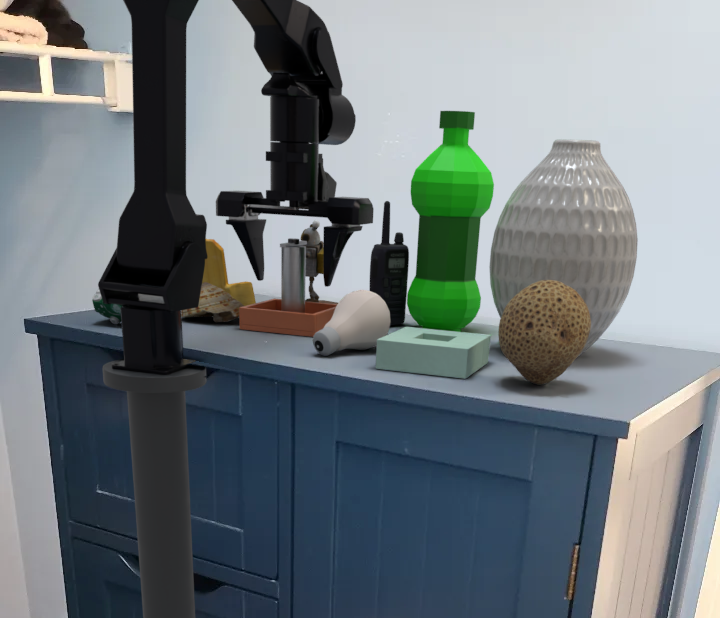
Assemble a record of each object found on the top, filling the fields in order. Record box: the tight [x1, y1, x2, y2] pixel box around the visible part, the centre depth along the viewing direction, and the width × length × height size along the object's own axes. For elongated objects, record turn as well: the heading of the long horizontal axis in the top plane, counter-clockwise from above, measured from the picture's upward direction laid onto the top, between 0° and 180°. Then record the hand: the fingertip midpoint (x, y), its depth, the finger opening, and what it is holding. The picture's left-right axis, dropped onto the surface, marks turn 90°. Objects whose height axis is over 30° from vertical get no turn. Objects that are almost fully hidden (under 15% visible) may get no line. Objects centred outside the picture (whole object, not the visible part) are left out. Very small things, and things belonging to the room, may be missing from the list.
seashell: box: [181, 282, 244, 323], centre depth 123 cm, size 8×6×8 cm
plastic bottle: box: [406, 110, 495, 332], centre depth 118 cm, size 10×11×25 cm
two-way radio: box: [369, 200, 410, 326], centre depth 123 cm, size 6×4×15 cm
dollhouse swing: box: [202, 238, 257, 306], centre depth 134 cm, size 10×10×9 cm
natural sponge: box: [497, 280, 591, 386], centre depth 93 cm, size 9×9×10 cm
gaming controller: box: [91, 288, 122, 325], centre depth 118 cm, size 9×4×6 cm
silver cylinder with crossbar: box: [279, 237, 307, 313], centre depth 119 cm, size 3×6×10 cm, turn 159°
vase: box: [488, 138, 639, 357], centre depth 107 cm, size 16×16×22 cm
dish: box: [238, 298, 337, 338], centre depth 121 cm, size 10×10×3 cm
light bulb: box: [312, 289, 391, 357], centre depth 107 cm, size 7×7×11 cm
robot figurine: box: [300, 219, 339, 304], centre depth 131 cm, size 11×9×12 cm
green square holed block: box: [375, 326, 492, 380], centre depth 102 cm, size 10×10×3 cm
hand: (293, 283), depth 119 cm, fingers open, 9 cm apart
